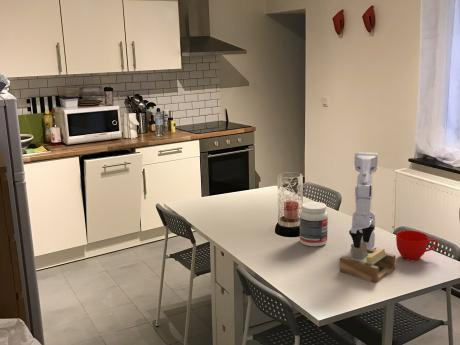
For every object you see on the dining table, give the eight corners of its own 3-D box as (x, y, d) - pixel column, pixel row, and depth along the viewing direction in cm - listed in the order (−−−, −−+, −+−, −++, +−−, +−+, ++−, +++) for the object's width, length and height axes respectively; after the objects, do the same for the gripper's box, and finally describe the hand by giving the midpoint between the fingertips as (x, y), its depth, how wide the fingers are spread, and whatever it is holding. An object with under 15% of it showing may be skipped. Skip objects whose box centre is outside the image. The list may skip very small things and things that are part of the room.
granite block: (358, 255, 214) (356, 241, 214) (368, 255, 211) (365, 241, 211) (353, 258, 211) (350, 244, 211) (362, 259, 208) (360, 244, 208)
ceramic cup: (439, 265, 213) (441, 242, 210) (396, 262, 216) (398, 240, 214) (433, 253, 225) (435, 231, 223) (393, 250, 229) (394, 229, 226)
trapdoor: (362, 254, 218) (361, 248, 217) (386, 255, 210) (384, 248, 210) (347, 264, 209) (346, 257, 209) (372, 265, 201) (370, 257, 201)
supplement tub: (329, 247, 234) (330, 209, 230) (301, 248, 235) (301, 209, 230) (325, 237, 247) (325, 200, 242) (298, 237, 247) (298, 201, 243)
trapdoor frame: (359, 258, 222) (360, 245, 220) (394, 268, 211) (395, 255, 209) (339, 271, 210) (339, 257, 208) (375, 282, 199) (376, 268, 198)
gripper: (362, 206, 214) (361, 237, 218) (344, 215, 204) (343, 247, 207) (378, 210, 210) (376, 241, 213) (360, 219, 199) (359, 252, 203)
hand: (361, 244), depth 210 cm, fingers open, 7 cm apart
